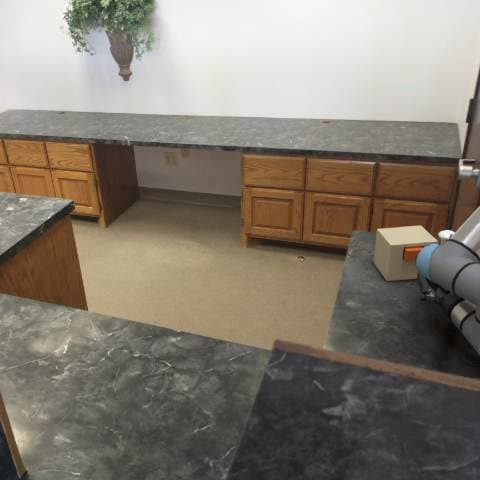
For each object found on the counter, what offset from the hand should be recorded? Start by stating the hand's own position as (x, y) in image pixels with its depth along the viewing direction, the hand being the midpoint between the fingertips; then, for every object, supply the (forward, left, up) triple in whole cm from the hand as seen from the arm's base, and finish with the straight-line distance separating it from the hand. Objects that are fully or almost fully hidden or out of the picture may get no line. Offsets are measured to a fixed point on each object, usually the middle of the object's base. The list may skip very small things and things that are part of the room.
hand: (418, 259), depth 131 cm
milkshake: (-8, -15, -8) cm, 19 cm away
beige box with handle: (+3, -8, -8) cm, 12 cm away
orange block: (+1, -3, -2) cm, 3 cm away
